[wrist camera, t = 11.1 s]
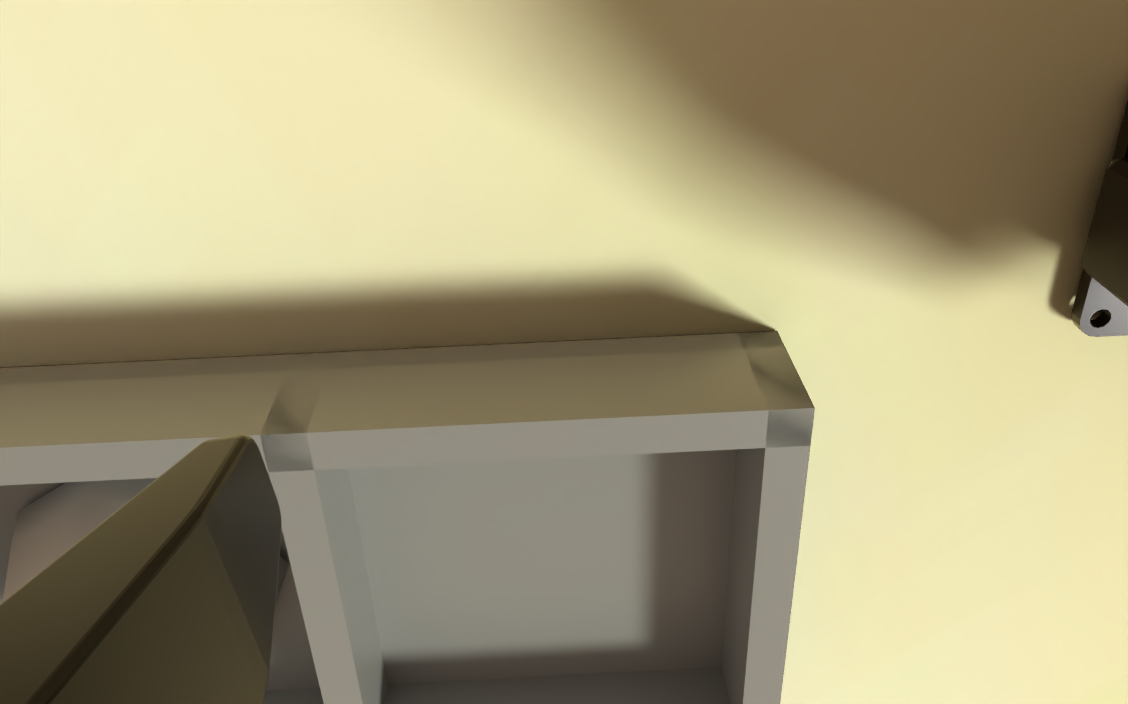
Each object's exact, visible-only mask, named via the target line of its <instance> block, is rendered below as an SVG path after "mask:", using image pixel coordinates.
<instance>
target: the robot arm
mask: <svg viewBox="0 0 1128 704" xmlns="http://www.w3.org/2000/svg"><path fill="white" fill-rule="evenodd" d="M1081 264H1082V267H1083V268H1084V269H1083V273H1082V276H1081V280H1080V284H1079V288H1078V291H1077V295H1076V299H1075V303H1074V307H1073V310H1072V320H1073V322H1074V324H1075V325H1076V326H1077V327H1078V328H1079V329H1080V330H1081V331H1082V332H1083V333H1085V334H1087V335H1088V336H1094V337H1099V336H1120V335H1128V103H1127V106H1126V110H1125V114H1124V118H1123V121H1122V125H1121V129H1120V133H1119V137H1118V140H1117V144H1116V148H1115V152H1114V155H1113V159H1112V163H1111V164H1110V165H1109V166H1108V168H1107V169H1106V171H1105V175H1104V179H1103V182H1102V186H1101V190H1100V194H1099V198H1098V202H1097V205H1096V209H1095V213H1094V217H1093V221H1092V224H1091V228H1090V232H1089V236H1088V240H1087V243H1086V247H1085V251H1084V255H1083V259H1082V263H1081ZM1102 309H1103V311H1102V312H1101V314H1100V316H1098V317H1097V318H1096V319H1093V320H1090V319H1091V317H1092V315H1093V314H1094V313H1095V312H1097V311H1099V310H1102ZM281 529H282V522H281V512H280V507H279V503H278V500H277V497H276V494H275V491H274V489H273V486H272V483H271V480H270V478H269V475H268V472H267V469H266V467H265V464H264V461H263V458H262V456H261V453H260V450H259V448H258V445H257V444H256V442H255V441H254V439H253V438H251V437H250V436H248V435H235V436H228V437H221V438H215V439H209V440H206V441H204V442H202V443H201V444H199V445H198V446H197V447H196V448H194V449H193V450H192V451H191V452H189V453H188V454H187V455H186V456H184V457H183V458H182V459H181V460H179V461H178V462H177V463H176V464H174V465H173V466H172V467H171V468H169V469H168V470H167V471H166V472H164V473H163V474H162V475H161V476H159V477H158V478H157V479H156V480H154V481H153V482H152V483H151V484H149V485H148V486H147V487H146V488H144V489H143V490H142V491H141V492H139V493H138V494H137V495H136V496H134V497H133V498H132V499H131V500H129V501H128V502H127V503H126V504H124V505H123V506H122V507H121V508H119V509H118V510H117V511H116V512H114V513H113V514H112V515H111V516H109V517H108V518H107V519H106V520H104V521H103V522H102V523H101V524H99V525H98V526H97V527H96V528H94V529H93V530H92V531H91V532H89V533H88V534H87V535H86V536H84V537H83V538H82V539H81V540H79V541H78V542H77V543H76V544H74V545H73V546H72V547H71V548H69V549H68V550H67V551H66V552H65V553H63V554H62V555H61V556H60V557H58V558H57V559H56V560H55V561H53V562H52V563H51V564H50V565H48V566H47V567H46V568H45V569H43V570H42V571H41V572H40V573H38V574H37V575H36V576H35V577H33V578H32V579H31V580H30V581H28V582H27V583H26V584H25V585H23V586H22V587H21V588H20V589H18V590H17V591H16V592H15V593H13V594H12V595H11V596H10V597H8V598H7V599H6V600H5V601H3V602H2V603H1V604H0V704H264V699H265V693H266V688H267V682H268V676H269V669H270V660H271V651H272V639H273V627H274V615H275V603H276V591H277V579H278V566H279V554H280V542H281Z"/></svg>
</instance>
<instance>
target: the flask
mask: <svg viewBox="0 0 1128 704" xmlns="http://www.w3.org/2000/svg"><path fill="white" fill-rule="evenodd" d="M156 479H157V478H145V479H124V480H104V481H84V482H66V483H64V484H63V485H61V486H59V487H58V488H56V489H54V490H53V491H51V492H49V493H48V494H46V495H44V496H43V497H41V498H39V499H38V500H36V501H34V502H33V503H31V504H29V505H28V506H26V507H24V508H23V509H21V510H19V511H18V512H17V516H16V522H15V527H14V532H13V537H12V543H11V549H10V556H9V562H8V569H7V576H6V582H5V589H4V596H3V601H5V600H6V599H7V598H8V597H10V596H11V595H12V594H13V593H15V592H16V591H17V590H18V589H20V588H21V587H22V586H23V585H25V584H26V583H27V582H28V581H30V580H31V579H32V578H33V577H35V576H36V575H37V574H38V573H40V572H41V571H42V570H43V569H45V568H46V567H47V566H48V565H50V564H51V563H52V562H53V561H55V560H56V559H57V558H58V557H60V556H61V555H62V554H63V553H65V552H66V551H67V550H68V549H69V548H71V547H72V546H73V545H74V544H76V543H77V542H78V541H79V540H81V539H82V538H83V537H84V536H86V535H87V534H88V533H89V532H91V531H92V530H93V529H94V528H96V527H97V526H98V525H99V524H101V523H102V522H103V521H104V520H106V519H107V518H108V517H109V516H111V515H112V514H113V513H114V512H116V511H117V510H118V509H119V508H121V507H122V506H123V505H124V504H126V503H127V502H128V501H129V500H131V499H132V498H133V497H134V496H136V495H137V494H138V493H139V492H141V491H142V490H143V489H144V488H146V487H147V486H148V485H149V484H151V483H152V482H153V481H154V480H156ZM288 565H289V564H288V563H287V562H286V561H285V560H284V559H283V558H282V557H281V556H280V555H279V566H278V579H277V591H276V601H277V598H278V595H279V592H280V589H281V586H282V583H283V580H284V577H285V574H286V571H287V568H288ZM275 604H276V603H275Z"/></svg>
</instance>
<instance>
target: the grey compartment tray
mask: <svg viewBox="0 0 1128 704" xmlns="http://www.w3.org/2000/svg"><path fill="white" fill-rule="evenodd" d="M814 410H815V408H814V406H813V404H812V401H811V399H810V397H809V395H808V393H807V391H806V389H805V387H804V385H803V383H802V381H801V379H800V377H799V375H798V373H797V371H796V369H795V367H794V365H793V363H792V360H791V358H790V356H789V354H788V352H787V350H786V348H785V346H784V344H783V342H782V340H781V338H780V336H779V334H778V332H777V331H768V332H747V333H726V334H705V335H684V336H663V337H642V338H621V339H600V340H579V341H558V342H537V343H516V344H495V345H474V346H453V347H432V348H411V349H390V350H369V351H348V352H327V353H306V354H285V355H264V356H243V357H222V358H201V359H180V360H159V361H138V362H117V363H96V364H75V365H54V366H33V367H12V368H0V604H1V603H2V602H3V596H4V589H5V582H6V576H7V569H8V562H9V556H10V549H11V543H12V537H13V532H14V527H15V522H16V516H17V512H18V511H19V510H21V509H23V508H24V507H26V506H28V505H29V504H31V503H33V502H34V501H36V500H38V499H39V498H41V497H43V496H44V495H46V494H48V493H49V492H51V491H53V490H54V489H56V488H58V487H59V486H61V485H63V484H64V483H66V482H84V481H104V480H124V479H145V478H158V477H159V476H161V475H162V474H163V473H164V472H166V471H167V470H168V469H169V468H171V467H172V466H173V465H174V464H176V463H177V462H178V461H179V460H181V459H182V458H183V457H184V456H186V455H187V454H188V453H189V452H191V451H192V450H193V449H194V448H196V447H197V446H198V445H199V444H201V443H202V442H204V441H206V440H209V439H215V438H221V437H228V436H235V435H248V436H250V437H251V438H253V439H254V441H255V442H256V444H257V445H258V448H259V450H260V453H261V456H262V458H263V461H264V464H265V467H266V469H267V472H268V475H269V478H270V480H271V483H272V486H273V489H274V491H275V494H276V497H277V500H278V503H279V507H280V512H281V522H282V529H281V542H280V554H279V555H280V556H281V557H282V558H283V559H284V560H285V561H286V562H287V563H288V564H289V565H288V568H287V571H286V574H285V577H284V580H283V583H282V586H281V589H280V592H279V595H278V598H277V601H276V604H275V615H274V627H273V639H272V651H271V660H270V669H269V676H268V682H267V688H266V693H265V699H264V704H780V699H781V691H782V682H783V674H784V665H785V657H786V648H787V640H788V631H789V623H790V614H791V606H792V597H793V589H794V580H795V572H796V563H797V555H798V546H799V538H800V529H801V521H802V512H803V503H804V495H805V486H806V478H807V469H808V461H809V452H810V444H811V435H812V427H813V418H814Z"/></svg>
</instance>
